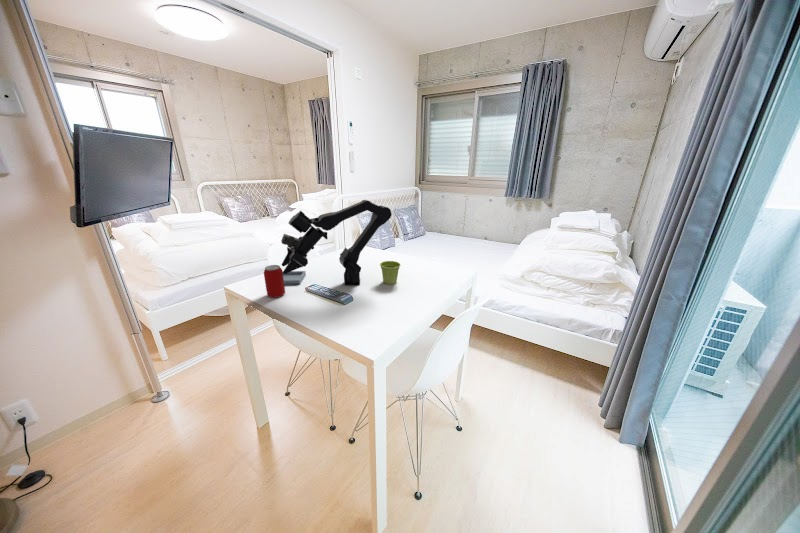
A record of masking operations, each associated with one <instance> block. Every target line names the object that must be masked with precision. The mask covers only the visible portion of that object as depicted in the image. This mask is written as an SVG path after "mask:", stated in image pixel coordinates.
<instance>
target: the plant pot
mask: <svg viewBox="0 0 800 533" xmlns="http://www.w3.org/2000/svg"><path fill="white" fill-rule="evenodd" d="M401 265H402V264H401V263H400V262H398V261H394V260H386V261H385V260H384V261H382V262H380V263H379V266H380V268H381V272H382V282H383V283H385V285H394V284H396V283H397V280H398V275H399V269H400V267H401Z"/></svg>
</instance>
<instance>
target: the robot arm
mask: <svg viewBox="0 0 800 533" xmlns="http://www.w3.org/2000/svg"><path fill="white" fill-rule="evenodd" d="M366 211H368V212H370V213H372V214H371V218H370V220H369V222H368V223H367V225H366V226H365V228H364V229H363V230H362V232H361V233H360V235H359V236H358V237H357V239H356V240H355V241H354V243H353V244H352V245H351V246H350V247H349V248H346V247H344V249H343V251H342V252H341V253H340V254H339V263H340V264H341V266H342V267H343V268H344V269H345V270H344V272H343V282H344V283H345V284H344V285H345V286H360V285H361V274H360V273H361V270H362V267H361V266H360V264H358V262H359V258H360V254H361V252H362V251H363V250H364V248H365V247H366V246H367V245H368V243H369V242H370V240H371V239H372V237H373V236H374V234H376V232H377V231H378V229H379V228H380V227H381V226H383V225H385V224H386V223H387V222H388V221H389V220H390V219H391V217H392V215H393V214H392V210H391V209H390V208H389V207H387V206H384V205H377V204H375V203H374V202H371V201H369V200H368V199H363V200H362V201H360V202H357V203H354V204H352V205H350V206H348V207H345V208H342V209H340V210H337V211H333V212H327V213H322V214H319V215H318V217H313V218H309V217H308V216H307V215H306V214H305V213H304V212H303V211H302V210H299V211H298V212H297V213H295V215H293V216H292V217H291V218H290V220H289V221H288V224H289V226H291V227H293V229H295V230H296V231H298V232H299V233H300V234H301V233H304V235H303V236H301V235H300V236H299V237H295V236H292V235H289V234H286V233H283V235H282V238H281V240H280V242H281V244H283V245H285V246H286V245H287V246H286V250H287V254H286V256H285V257H284V259H283V261H282V263H281V266H282V267H284V269H283V270H282V271H283V273H284V274H286V273H289V272H291V271H296V270H297V269H301V268H303V267H306V266H307V265H308V264H309V260H308V254H309V252H311V251H313V250H314V249H315V246H316V245H317V244H318V242H319V241H320V240H321V239H322V238H324V239H325V240H328V231H332V230H333V229H334V228H336V227H337V226H338V225H340V223H342V222H343V221H346V220H347V219H350V218H352V217H354V216H357V215H359V214H362V213H364V212H366ZM323 230H324V231H323Z"/></svg>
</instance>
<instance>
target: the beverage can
mask: <svg viewBox="0 0 800 533" xmlns="http://www.w3.org/2000/svg"><path fill="white" fill-rule="evenodd" d="M282 271H283V269H282V267H281V266H280V265H277V264H272V265H270V264H269V265H267V266H266V267H264V270H263V276H264V277H263V278H264V283H265V289H266V290H265V291H266V295H267V296H268V297H269V298H280V297H282V296H283V295H284V294H286V288H285V287H286V285H284V279H283V272H282Z"/></svg>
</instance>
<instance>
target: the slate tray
mask: <svg viewBox="0 0 800 533" xmlns="http://www.w3.org/2000/svg"><path fill="white" fill-rule="evenodd" d="M283 271H284V270H282V272H283ZM306 272H307V271H306V270H293V271H291V272H289V273H286V274H284V273H283V279H284V286H286V285H287V286H288V285H289V286H291V285H293V286H295V285H301V283H302V282H303V280H304V278H305V277H306V276H307V274H306Z"/></svg>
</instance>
